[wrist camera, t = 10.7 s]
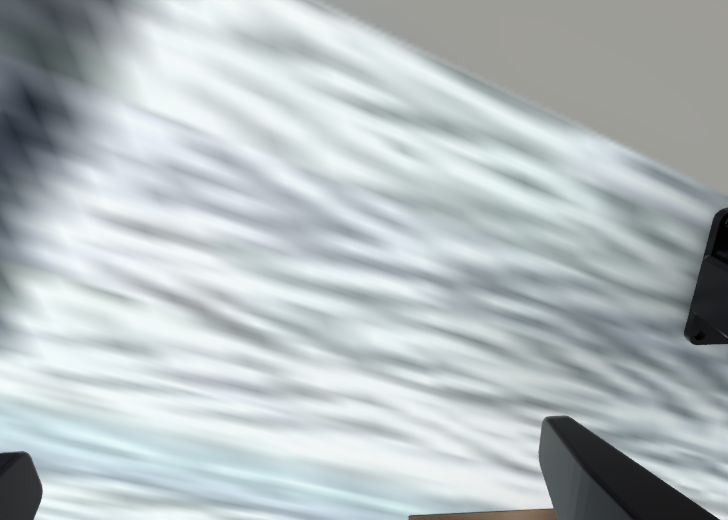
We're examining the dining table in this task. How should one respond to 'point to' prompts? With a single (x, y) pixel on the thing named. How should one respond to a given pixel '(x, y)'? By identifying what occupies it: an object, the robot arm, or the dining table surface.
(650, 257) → the dining table surface
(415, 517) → the collar board
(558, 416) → the robot arm
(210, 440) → the dining table surface
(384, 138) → the dining table surface
